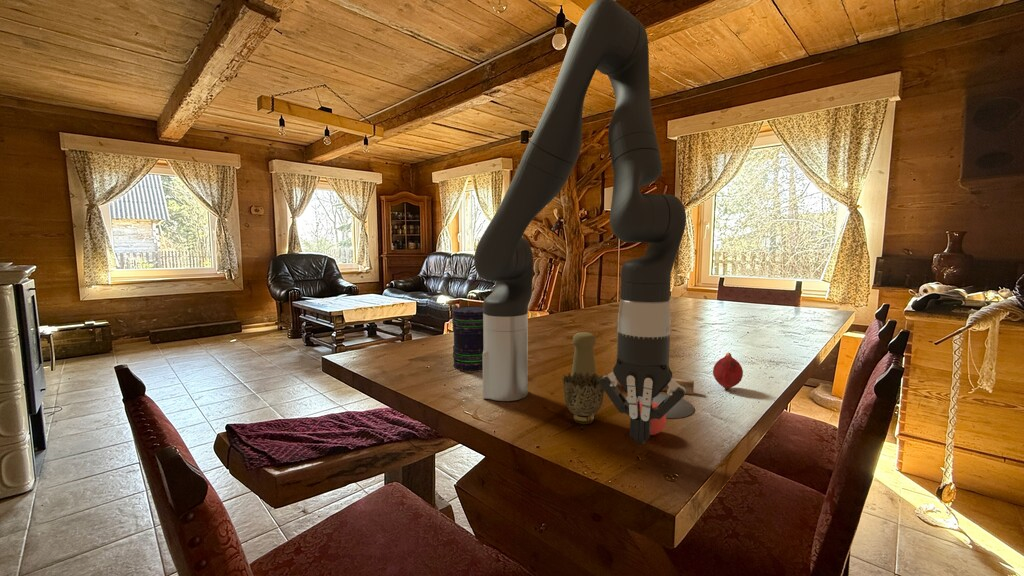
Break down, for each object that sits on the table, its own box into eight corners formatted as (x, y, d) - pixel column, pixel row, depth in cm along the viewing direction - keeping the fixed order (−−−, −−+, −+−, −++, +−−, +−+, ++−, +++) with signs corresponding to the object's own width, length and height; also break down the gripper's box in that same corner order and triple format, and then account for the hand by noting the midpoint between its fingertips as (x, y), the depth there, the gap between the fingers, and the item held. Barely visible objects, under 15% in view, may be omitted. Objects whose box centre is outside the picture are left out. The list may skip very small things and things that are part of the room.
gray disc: (634, 418, 78) (634, 417, 78) (616, 393, 91) (616, 392, 91) (706, 418, 78) (706, 417, 78) (678, 393, 91) (678, 392, 91)
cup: (558, 413, 80) (559, 371, 79) (597, 412, 81) (598, 370, 80) (567, 431, 73) (567, 385, 72) (609, 429, 74) (610, 383, 73)
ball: (636, 441, 69) (637, 407, 69) (627, 426, 75) (628, 395, 74) (670, 441, 69) (672, 407, 69) (659, 426, 75) (660, 395, 74)
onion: (745, 394, 90) (747, 357, 90) (716, 392, 92) (718, 355, 91) (737, 385, 96) (739, 350, 95) (709, 383, 97) (711, 349, 96)
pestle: (567, 381, 99) (568, 334, 98) (573, 374, 105) (574, 329, 104) (593, 384, 97) (594, 336, 96) (598, 377, 102) (599, 331, 101)
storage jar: (457, 360, 117) (456, 305, 116) (493, 361, 116) (493, 306, 115) (448, 371, 107) (447, 311, 106) (487, 372, 106) (487, 312, 105)
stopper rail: (693, 392, 92) (693, 380, 92) (693, 394, 90) (693, 382, 90) (635, 384, 97) (635, 373, 97) (634, 386, 95) (634, 375, 95)
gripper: (693, 329, 65) (688, 440, 67) (605, 321, 71) (603, 423, 72) (689, 339, 58) (683, 462, 60) (593, 330, 64) (590, 442, 66)
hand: (639, 440), depth 66 cm, fingers closed
